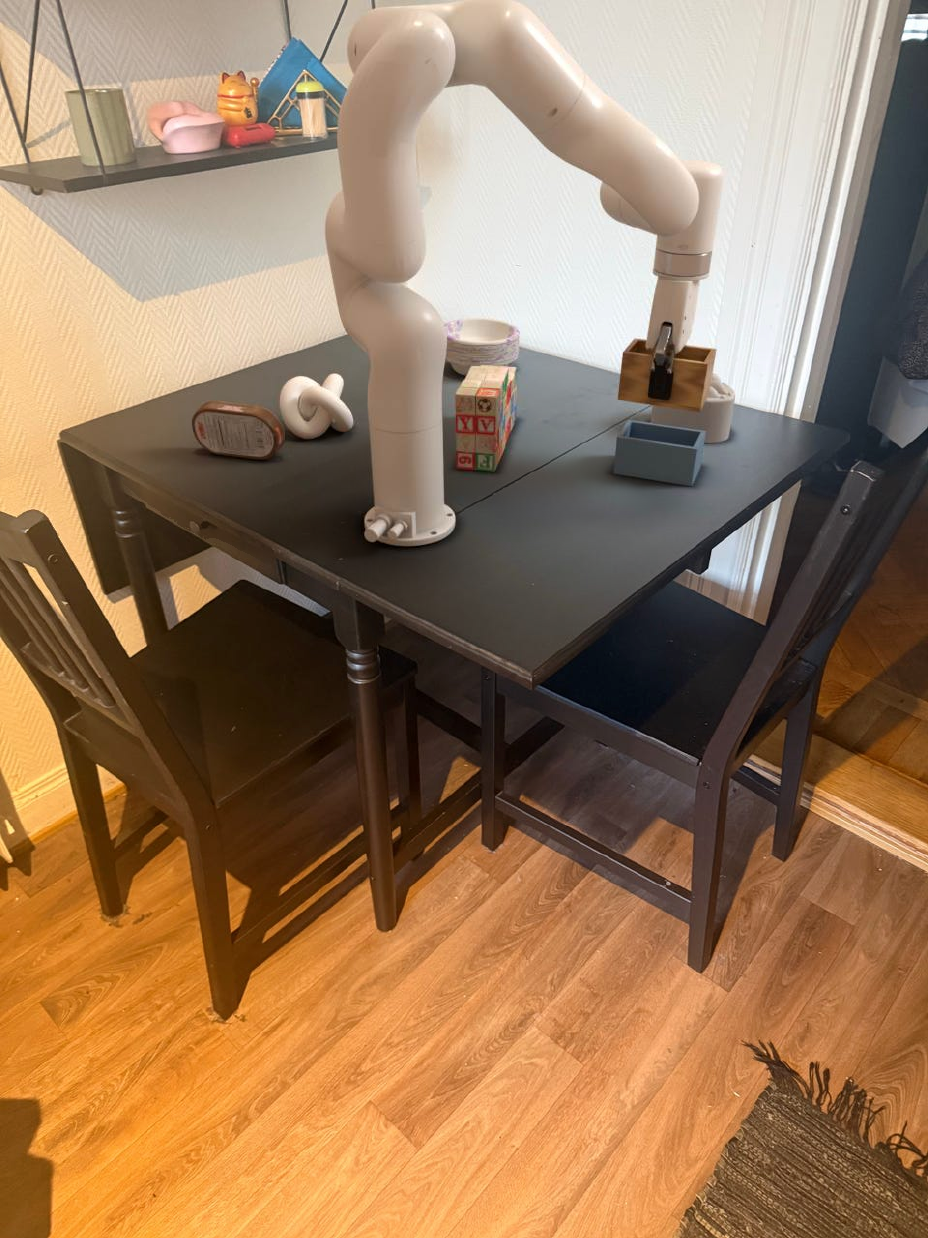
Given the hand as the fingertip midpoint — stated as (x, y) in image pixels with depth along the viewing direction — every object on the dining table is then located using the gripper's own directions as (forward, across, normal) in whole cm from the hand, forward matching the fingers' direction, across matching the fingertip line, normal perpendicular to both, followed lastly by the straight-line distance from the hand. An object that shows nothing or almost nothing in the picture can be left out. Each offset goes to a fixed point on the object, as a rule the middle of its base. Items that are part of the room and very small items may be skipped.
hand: (664, 388), depth 135 cm
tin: (+14, +18, -62) cm, 67 cm away
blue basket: (+13, 0, 0) cm, 13 cm away
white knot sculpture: (+14, +4, -56) cm, 57 cm away
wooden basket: (+1, 0, 0) cm, 1 cm away
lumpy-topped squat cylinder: (+13, -18, +2) cm, 23 cm away
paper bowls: (+13, -32, -42) cm, 54 cm away
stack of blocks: (+14, 0, -28) cm, 31 cm away
